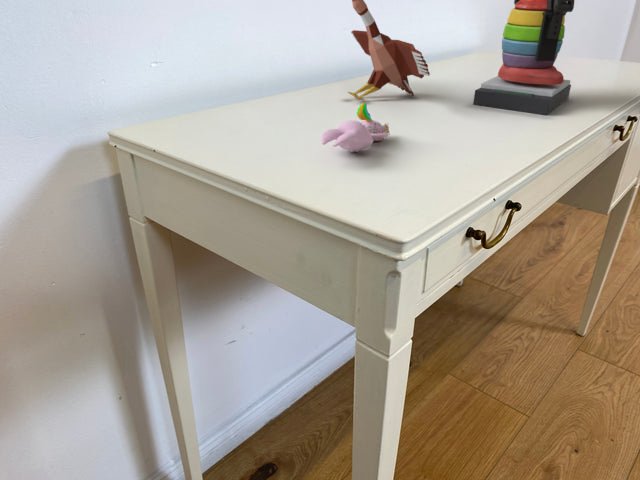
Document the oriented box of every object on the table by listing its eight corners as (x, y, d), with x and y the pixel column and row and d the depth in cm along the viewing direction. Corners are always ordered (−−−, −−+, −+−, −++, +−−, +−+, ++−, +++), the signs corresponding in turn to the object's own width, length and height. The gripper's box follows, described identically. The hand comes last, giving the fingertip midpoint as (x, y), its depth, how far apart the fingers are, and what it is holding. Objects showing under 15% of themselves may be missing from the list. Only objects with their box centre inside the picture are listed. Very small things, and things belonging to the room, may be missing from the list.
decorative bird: (294, 67, 97) (322, -14, 92) (373, 98, 105) (403, 25, 100) (345, 100, 73) (387, -7, 68) (442, 136, 81) (487, 44, 76)
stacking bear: (565, 85, 80) (593, -43, 72) (498, 83, 82) (518, -42, 74) (553, 73, 89) (578, -42, 81) (494, 71, 91) (511, -41, 83)
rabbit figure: (357, 141, 72) (303, 155, 59) (361, 98, 70) (307, 103, 57) (398, 148, 69) (351, 164, 56) (404, 103, 67) (357, 109, 54)
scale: (546, 115, 79) (551, 94, 77) (472, 104, 85) (475, 85, 84) (568, 98, 89) (572, 79, 87) (500, 90, 95) (503, 72, 94)
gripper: (509, -98, 83) (487, 46, 94) (572, -118, 64) (536, 67, 74) (554, -98, 83) (527, 46, 94) (630, -118, 64) (586, 67, 74)
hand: (531, 55), depth 84 cm, fingers closed on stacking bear, 9 cm apart
